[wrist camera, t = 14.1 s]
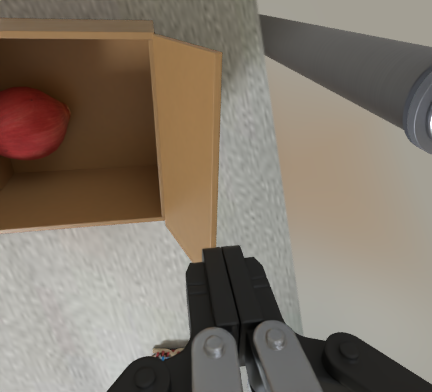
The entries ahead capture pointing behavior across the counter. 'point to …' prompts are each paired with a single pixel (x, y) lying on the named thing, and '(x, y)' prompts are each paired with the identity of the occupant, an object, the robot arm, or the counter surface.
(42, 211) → the carton
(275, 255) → the counter surface
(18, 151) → the onion
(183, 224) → the flap
